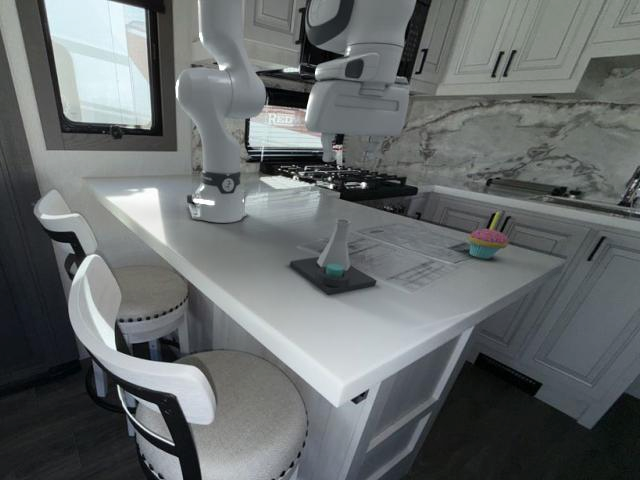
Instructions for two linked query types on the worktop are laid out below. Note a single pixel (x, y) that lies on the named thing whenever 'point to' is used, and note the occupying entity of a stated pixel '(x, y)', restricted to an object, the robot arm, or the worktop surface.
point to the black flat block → (332, 285)
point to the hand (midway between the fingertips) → (347, 161)
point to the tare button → (334, 270)
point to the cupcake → (487, 241)
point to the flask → (337, 246)
